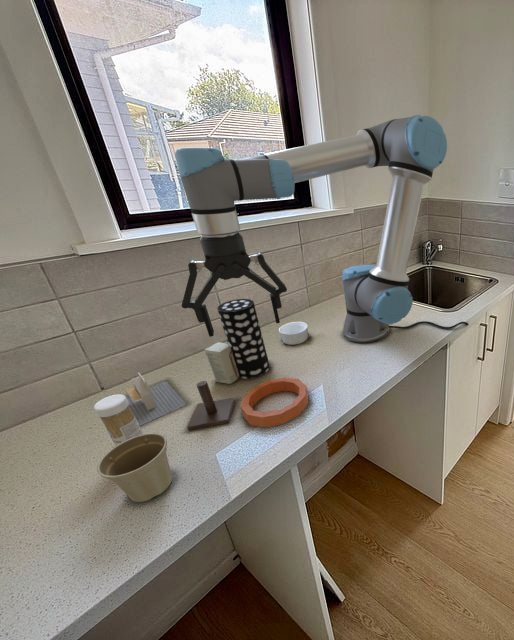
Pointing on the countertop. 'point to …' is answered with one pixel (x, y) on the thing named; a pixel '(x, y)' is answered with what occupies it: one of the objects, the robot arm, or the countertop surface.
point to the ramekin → (294, 332)
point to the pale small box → (222, 362)
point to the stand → (210, 409)
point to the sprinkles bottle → (118, 418)
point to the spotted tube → (244, 337)
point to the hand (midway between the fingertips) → (245, 327)
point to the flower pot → (138, 466)
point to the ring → (278, 415)
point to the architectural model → (151, 400)
